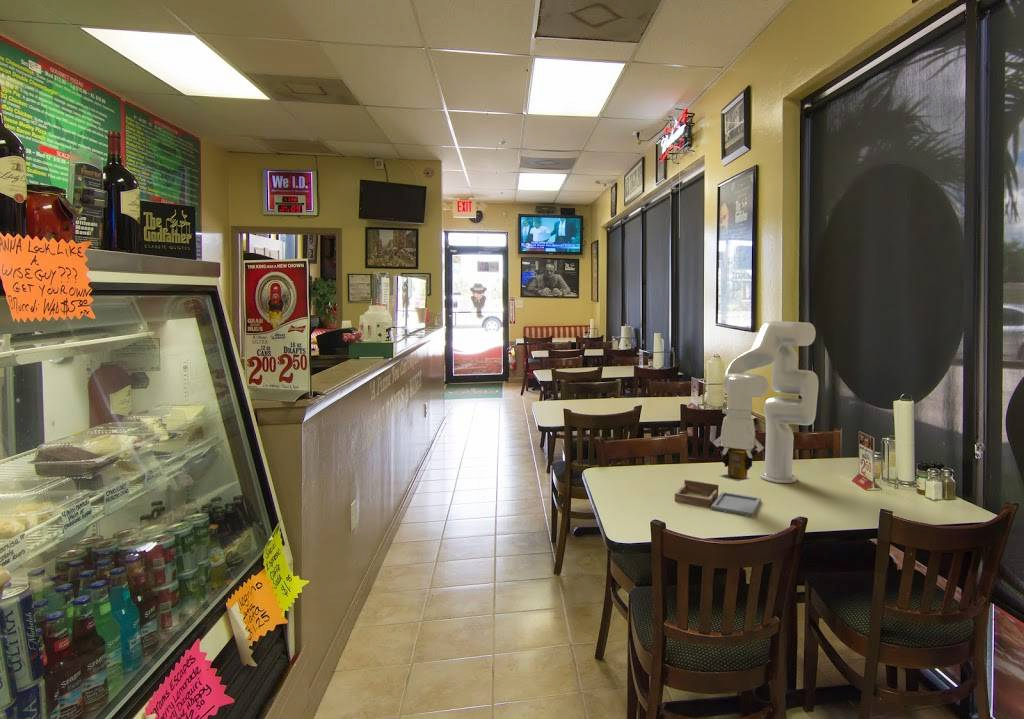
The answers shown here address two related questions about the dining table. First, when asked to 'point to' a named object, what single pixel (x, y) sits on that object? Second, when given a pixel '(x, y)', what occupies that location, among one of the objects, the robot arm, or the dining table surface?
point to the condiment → (736, 465)
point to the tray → (736, 503)
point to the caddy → (697, 488)
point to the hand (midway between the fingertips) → (737, 466)
